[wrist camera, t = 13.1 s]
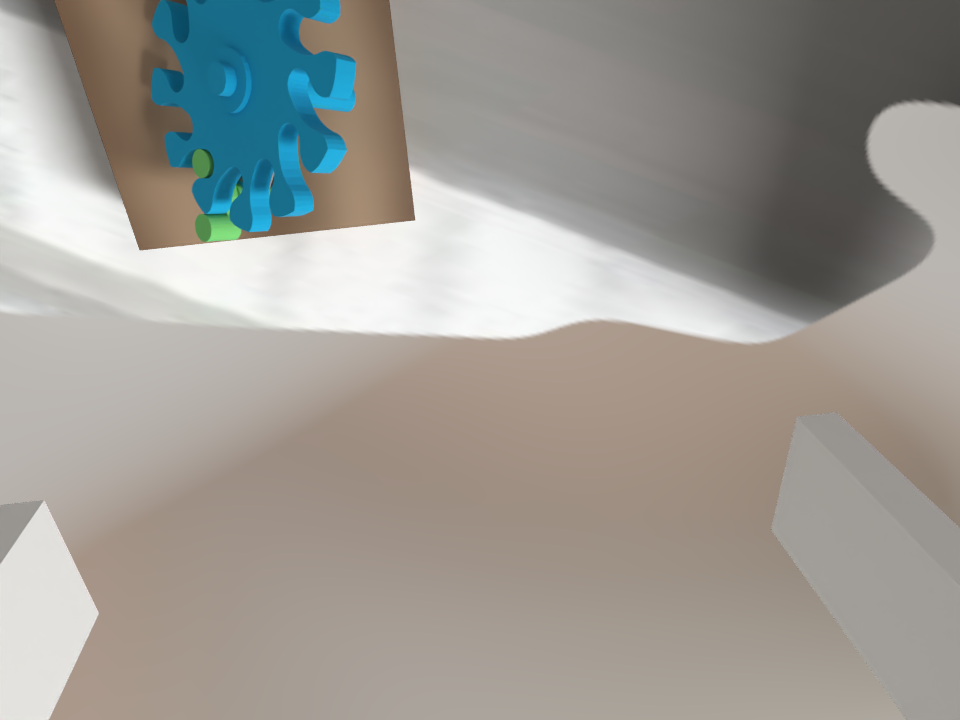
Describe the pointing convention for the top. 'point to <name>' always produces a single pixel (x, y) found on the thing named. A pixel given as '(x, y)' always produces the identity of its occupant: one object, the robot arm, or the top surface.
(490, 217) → the top surface
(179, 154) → the gear
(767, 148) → the top surface
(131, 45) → the brown rectangular block
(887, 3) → the top surface
